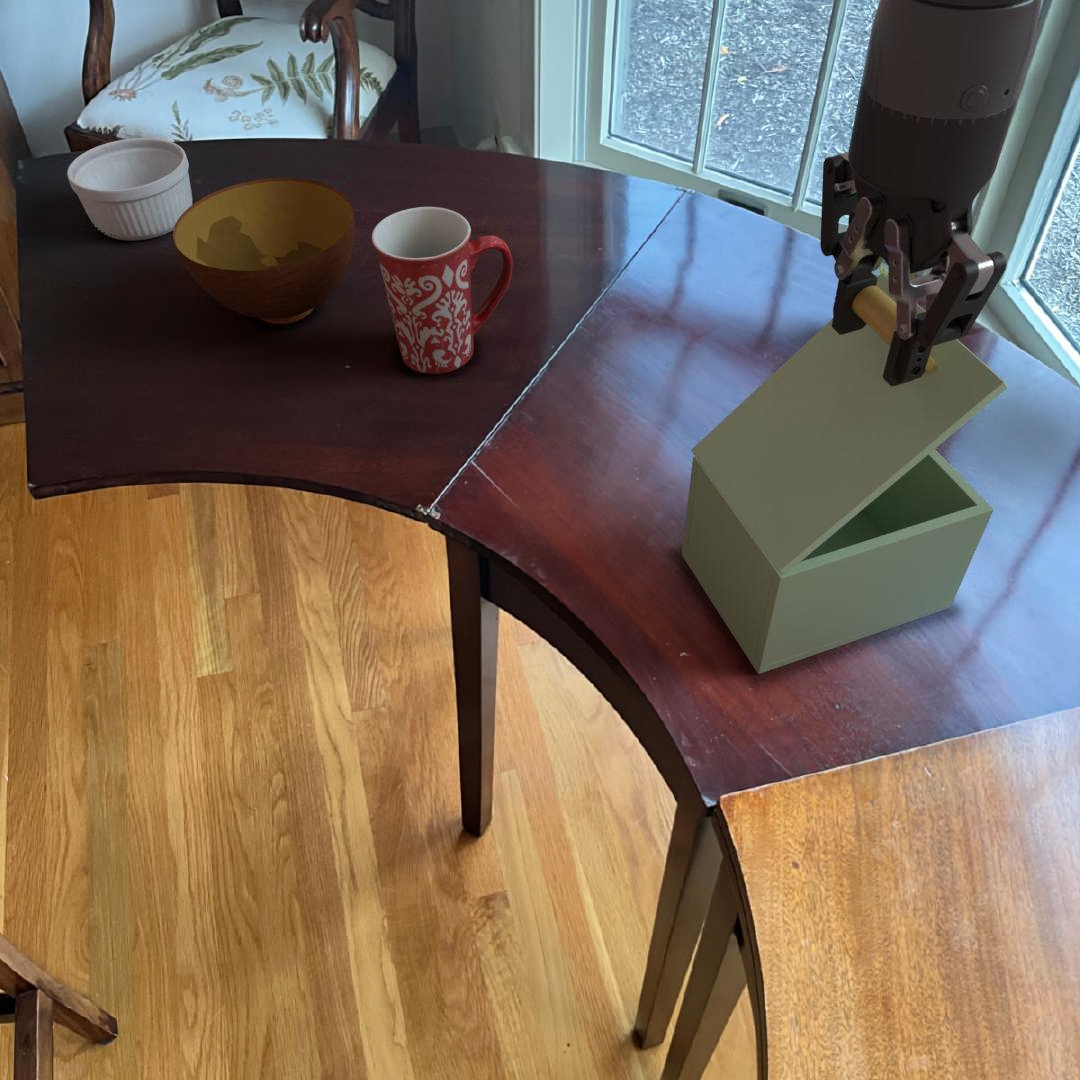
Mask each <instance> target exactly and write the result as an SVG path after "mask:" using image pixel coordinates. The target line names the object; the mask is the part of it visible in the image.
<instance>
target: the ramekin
mask: <svg viewBox="0 0 1080 1080" xmlns="http://www.w3.org/2000/svg"><path fill="white" fill-rule="evenodd" d="M189 167H190V165H189V160H188V156H187V154H186V152H185V149H183V148H182V146H181V145H179V144H177V143H175V142H173V141H170V140H166V139H162V138H157V137H156V138H155V137H133V138H124V139H119V140H115V141H110V142H106V143H103V144H100V145H98V146H95V147H93V148H91V149H88V150H86V151H85V152H83V153H82V154H80V155H78V156H77V157H76V158H75V159H74V160H73V161H72V162H71V163H70V164H69V166H68V167H67V171H66V176H67V180H68V182H69V186H70V187H71V189H72V190H73V192H74V193H75V194H76V195H77V197H78V199H79V201H80V203H81V205H82V207H83V209H84V211H85V213H86V214H87V216H88V218H89V220H90V222H91V224H92V225H93V224H94V225H93V226H94V227H95V228H96V227H97V228H98V229H97V228H96V229H97V230H98V231H100V230H101V231H100V233H103V232H105V233H103V234H104V235H105V236H107V237H110V238H112V239H114V240H120V241H143V240H149V239H155V238H158V237H161V236H164V235H166V234H169V233H171V232H173V230H174V227H175V224H176V222H177V220H178V219H179V218H180V216H181V215H182V214H183V213H184V212H185V211H186V210H187V209H188V208H189V207H190V206H192V205H193V195H192V193H193V192H192V187H191V182H190V174H189ZM110 234H112V235H110ZM114 235H116V236H114Z"/></svg>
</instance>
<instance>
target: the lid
mask: <svg viewBox="0 0 1080 1080" xmlns="http://www.w3.org/2000/svg"><path fill="white" fill-rule="evenodd" d="M877 278H878V279H877V284H876V286H868V287H866V288H864V289H862V290H861V291H860V292H859V293H858V294H857V295H856V297H855V298H854V300H853V304H852V308H853V311H854V312H855V313H856V314H857V315H858V316H859V317H860V318H861V319H862V320H863V321H864V322H865V323H866V326H865V327H864V328H862V329H860V330H857V331H853V332H850V333H846V334H843V335H840V334H838V333H837V332H836V331H835V330H834V329H833V328H832V321H833V318H832V319H830V320H829V321H828V322H827V323H826V324H825V325H824V326H823V327H822V328H820V329H819V331H817V332H816V334H814V335H813V336H812V337H811V338H810V339H809V340H808V341H807V342H805V343H804V345H802V346H801V347H800V348H799V349H798V350H797V351H796V352H795V353H794V354H792V355H791V356H790V357H789V358H788V359H787V360H786V361H785V362H784V363H783V364H782V365H781V366H780V367H779V368H778V369H776V370H775V371H774V372H773V373H772V374H771V375H770V376H768V378H767V379H766V380H765V381H763V383H762V384H760V385H759V386H758V387H757V388H756V389H755V390H754V391H753V392H752V393H751V394H749V396H747V397H746V398H745V399H744V400H743V401H742V402H741V403H739V405H738V406H736V407H735V409H733V410H732V411H731V412H730V413H729V414H727V416H726V417H725V418H723V420H722V421H720V422H719V423H718V424H717V425H716V426H715V427H714V428H713V429H712V430H711V431H710V432H709V433H707V434H706V435H705V436H703V438H702V439H701V440H700V441H699V442H698V443H697V444H695V445H694V446H693V448H691V452H692V454H693V455H694V456H696V458H697V459H698V461H699V462H700V463H701V465H702V466H703V467H704V469H705V470H706V472H707V473H708V474H709V476H710V477H711V479H712V480H713V481H714V483H715V484H716V485H717V487H718V488H719V490H720V491H721V492H722V494H723V495H724V497H725V498H726V499H727V501H728V502H729V504H730V505H731V506H732V508H733V509H734V510H735V512H736V513H737V515H738V516H739V517H740V519H741V520H742V522H743V523H744V524H745V526H746V527H747V528H748V530H749V531H750V533H751V534H752V535H753V537H754V538H755V540H756V541H757V542H758V544H759V545H760V547H761V548H762V549H763V551H764V552H765V553H766V555H767V556H768V558H769V559H770V560H771V562H772V563H773V565H774V566H775V567H776V569H777V570H778V572H780V573H781V574H783V575H785V574H786V573H788V572H789V571H790V570H791V569H792V568H794V567H795V566H796V565H797V564H798V563H800V562H801V561H802V560H803V559H804V558H805V557H807V556H808V555H809V554H810V553H811V552H813V551H814V550H815V549H816V548H817V547H819V546H820V545H821V544H822V543H823V542H825V541H826V540H827V539H828V538H829V537H830V536H832V535H833V534H834V533H835V532H836V531H838V530H839V529H840V528H841V527H842V526H844V525H845V524H846V523H847V522H848V521H850V520H851V519H852V518H853V517H854V516H855V515H857V514H858V513H859V512H860V511H861V510H863V509H864V508H865V507H866V506H867V505H869V504H870V503H871V502H872V501H873V500H875V499H876V498H877V497H878V496H879V495H881V494H882V493H883V492H884V491H885V490H886V489H888V488H889V487H890V486H891V485H892V484H894V483H895V482H896V481H897V480H898V479H900V478H901V477H902V476H903V475H904V474H906V473H907V472H908V471H909V470H910V469H911V468H913V467H914V466H915V465H916V464H917V463H919V462H920V461H921V460H922V459H923V458H925V457H926V456H927V455H928V454H929V453H931V452H932V451H933V450H934V449H935V450H936V448H938V447H939V446H940V445H941V444H943V443H944V442H946V440H947V439H948V438H950V437H951V436H952V435H954V434H955V433H956V432H957V431H959V429H960V428H962V427H963V426H964V425H966V423H967V422H970V420H971V419H972V418H974V417H975V416H976V415H977V414H979V413H980V412H981V411H982V410H983V409H984V408H986V407H987V406H988V405H989V404H990V403H991V402H993V401H994V400H995V399H996V398H998V397H999V396H1000V395H1001V394H1002V393H1003V392H1005V391H1006V390H1007V389H1008V388H1009V386H1008V384H1007V382H1005V381H1004V379H1002V378H1001V377H1000V376H999V375H998V374H997V373H995V372H994V370H992V369H991V368H990V367H989V366H988V365H987V364H985V362H984V361H982V360H981V359H980V358H979V357H978V356H977V355H976V354H974V353H973V352H972V351H971V350H970V349H969V348H968V347H966V345H964V344H963V342H961V341H960V340H959V339H955V340H952V341H948V342H945V343H942V344H938V345H935V346H932V349H931V352H930V356H929V359H928V362H927V364H926V365H927V366H926V369H925V373H924V374H923V375H922V376H921V377H920V378H917V379H915V380H913V381H910V382H906V383H903V384H900V385H897V386H890V385H889V384H888V383H887V382H886V381H885V380H884V379H883V373H884V369H885V365H886V361H887V357H888V353H889V349H890V346H891V342H892V338H893V334H894V331H897V302H896V299H895V298H894V297H891V296H890V294H889V278H888V277H887V276H886V275H884V274H883V273H881V274H878V277H877ZM923 312H926V309H925V308H923V307H922V306H921V305H919V303H918V304H917V314H919V313H923Z"/></svg>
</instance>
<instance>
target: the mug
mask: <svg viewBox="0 0 1080 1080" xmlns="http://www.w3.org/2000/svg"><path fill="white" fill-rule="evenodd" d="M471 235H472V228H471V224H470V223H469V221H468V220H467V219H466V218H465V216H463V215H462V214H461V213H459V212H456V211H455V210H451V209H448V208H445V207H437V206H420V207H412V208H407V209H403V210H399V211H397V212H394V213H392V214H390V215H388V216H386V217H384V218H382V220H381V221H379V222H378V223H377V224H376V226H374V228H373V229H372V233H371V243H372V245H373V248H374V249H375V250H376V255H377V258H378V259H377V260H378V263H379V267H380V272H381V277H382V280H383V284H384V288H385V294H386V297H387V301H388V305H389V310H390V314H391V318H392V323H393V326H394V330H395V331H394V332H395V334H396V339H397V343H398V347H399V353H400V355H401V359H402V361H403V363H404V364H405V365H406V366H407V368H409V369H410V370H413V371H415V372H418V373H421V374H426V375H439V374H440V375H441V374H447V373H450V372H453V371H455V370H457V369H459V368H461V367H463V366H465V365H466V364H467V363H468V362H469V361H470V360H471V358H472V357H473V355H474V349H475V343H474V337H475V335H476V333H478V331H479V330H480V329H481V327H482V326H483V325H484V324H485V323H486V322H487V320H488V319H489V318H490V316H492V314H493V312H494V311H495V310H496V309H497V307H498V305H500V302H501V301H502V300H503V297H504V296H505V294H506V292H507V290H508V288H509V285H510V283H511V280H512V276H513V268H514V262H513V255H512V252H511V250H510V248H509V246H508V244H507V243H506V242H505V241H504V240H503V239H502V238H500V237H499V236H496V235H483V236H480V237H478V238H476V239H474V240H472V241H470V239H471ZM489 250H496V251H499V252H500V253H501V255H502V269H501V273H500V275H499V278H498V280H497V282H496V283H495V286H494V287H493V289H492V290H491V292H490V294H489V295H488V296H487V298H486V299H485V301H484V302H483V304H482V305H480V307H479V308H478V309H477V310H476V311H475V312H473V305H472V304H473V302H472V301H473V300H472V278H471V277H472V276H471V272H472V271H473V270H474V269H475V267H476V264H477V262H478V260H479V258H480V256H481V255H482V254H484V253H485V252H487V251H489Z"/></svg>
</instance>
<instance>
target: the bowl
mask: <svg viewBox="0 0 1080 1080" xmlns="http://www.w3.org/2000/svg"><path fill="white" fill-rule="evenodd" d="M355 237H356V221H355V214H354V209H353V206H352V203H351V202H350V200H349V199H348V197H347V196H346V195H345V194H344V193H343V192H341V191H340V190H338V189H336V188H334V187H333V186H331V185H328V184H326V183H322V182H319V181H316V180H312V179H307V178H306V179H305V178H295V177H273V178H261V179H256V180H249V181H245V182H241V183H237V184H233V185H229V186H227V187H223V188H222V189H219V190H217V191H213V192H212V193H210V194H207V195H206V196H204V197H202V198H200V199H198V200H197V201H196V202H194V203H192V206H190V207H189V208H188V209H187V210H186V211H185V212H184V213H183V214H182V215H181V216H180V218H179V219H178V220H177V222H176V224H175V227H174V230H173V231H172V240H173V244H174V247H175V250H176V252H177V254H178V257H179V259H180V260H181V263H182V264H183V266H184V267H185V269H186V270H187V272H188V273H189V274H190V277H191V278H192V279H193V280H194V281H195V282H196V284H198V286H200V287H201V289H202V290H203V291H204V292H206V294H208V295H209V296H210V297H211V298H213V299H214V300H215V301H216V302H217V303H219V304H221V305H222V306H224V307H225V308H227V309H229V310H230V311H233V312H235V313H237V314H239V315H242V316H247V317H250V318H254V319H260V320H262V321H264V322H266V323H269V324H275V325H284V324H290V323H291V324H292V323H295V322H298V321H300V320H302V319H304V318H305V317H307V316H308V315H310V314H311V313H312V311H313V310H314V308H316V307H318V306H319V305H321V304H322V303H323V302H325V301H326V300H328V298H329V297H330V296H332V295H333V293H335V291H336V289H337V288H338V286H339V285H340V283H341V282H342V280H343V278H344V276H345V274H346V272H347V271H348V270H347V269H348V266H349V264H350V260H351V258H352V254H353V250H354V245H355Z"/></svg>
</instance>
